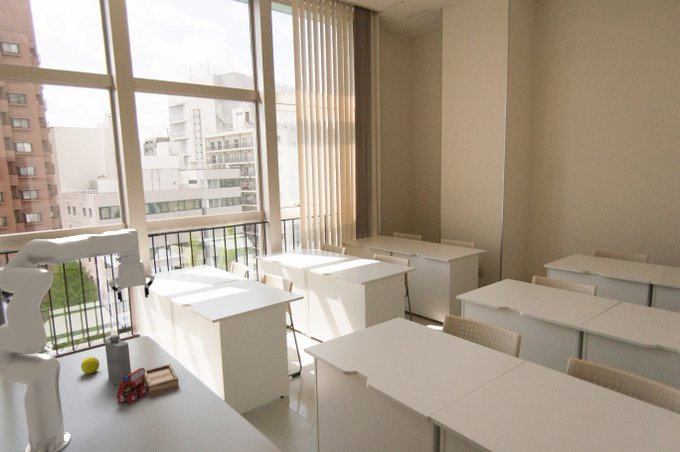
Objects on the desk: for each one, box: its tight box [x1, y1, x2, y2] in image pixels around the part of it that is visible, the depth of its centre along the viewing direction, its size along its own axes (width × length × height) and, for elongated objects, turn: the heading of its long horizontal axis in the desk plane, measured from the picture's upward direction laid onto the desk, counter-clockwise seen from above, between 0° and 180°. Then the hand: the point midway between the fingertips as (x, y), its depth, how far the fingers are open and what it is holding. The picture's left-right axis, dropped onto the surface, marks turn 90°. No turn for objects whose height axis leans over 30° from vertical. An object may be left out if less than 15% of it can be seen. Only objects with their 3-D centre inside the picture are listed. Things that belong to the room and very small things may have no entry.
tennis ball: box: [80, 356, 100, 375], centre depth 190 cm, size 7×7×7 cm
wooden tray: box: [144, 363, 180, 397], centre depth 177 cm, size 16×11×4 cm
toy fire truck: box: [116, 367, 149, 404], centre depth 166 cm, size 7×12×10 cm, turn 157°
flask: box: [104, 334, 132, 386], centre depth 181 cm, size 15×6×20 cm, turn 50°
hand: (133, 299), depth 176 cm, fingers open, 9 cm apart
